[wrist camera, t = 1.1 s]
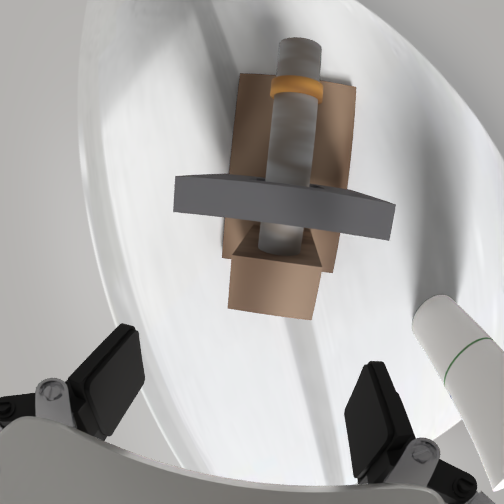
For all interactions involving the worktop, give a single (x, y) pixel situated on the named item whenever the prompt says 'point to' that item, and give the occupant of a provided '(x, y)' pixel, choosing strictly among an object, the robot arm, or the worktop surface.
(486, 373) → the cylindrical container
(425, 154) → the worktop surface
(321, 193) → the dark grey square plate
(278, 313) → the pipe mount
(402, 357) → the worktop surface
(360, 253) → the worktop surface
